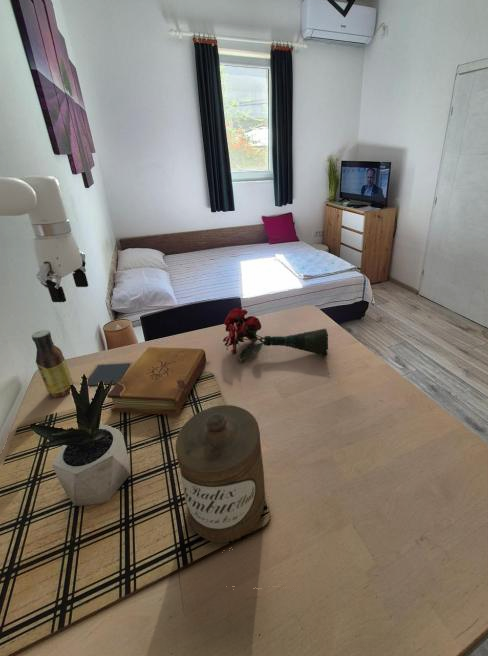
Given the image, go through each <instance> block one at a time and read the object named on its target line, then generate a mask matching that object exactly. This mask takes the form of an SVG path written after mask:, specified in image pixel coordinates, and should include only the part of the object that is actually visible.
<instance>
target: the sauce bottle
mask: <svg viewBox="0 0 488 656" xmlns="http://www.w3.org/2000/svg"><path fill="white" fill-rule="evenodd" d="M31 339H32V341H33V342H34V345H35V349H36V356H35V364H36V367H37V368H38V372H39V374H40V376H41V379H42V382H43V384H44V386H45V389H46V391H47V393H48V394H49V396H51V397H52V398H57V397H62V396H65V395H67V394H68V393H70V392H71V391H70V385H73V386H74V384H73V379H72V376H71V373H70V371H69V367H68V365H67V362H66V359H65V356H64V354H63V352H62V350H61V348H60V347H58V346H56V345H55V343H54V341H53V339H52V334H51V331H50V330H49V329H39V330H38V331H35V332H34V333H32V334H31Z"/></svg>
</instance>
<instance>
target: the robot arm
mask: <svg viewBox="0 0 488 656" xmlns="http://www.w3.org/2000/svg"><path fill="white" fill-rule="evenodd" d="M25 215H28V218H29V221H30V224H31V228H32V231H33V234H34V237H35V238H33V246H34V253H35V258H36V262H37V266H38V270H39V271H38V272H37V274H36V275H35V277H36V279H37V280H38V281H39V282H40V284H41V285H42V286H44V288H45V289H47V290H48V293H49V296H50V299H51V302H52V303H65V302H67V297H66V295H65V291H64V288H63V286H61V281H62V278H64V277H66V276H68V275H69V274H72V277H73V282H74V285H75V287H76V288H88V287H89V282H88V278H87V275H86V272H87V269H86V268H85V267H86V265H87V264H86V253H83V252H81V251H80V249H79V246H78V243H77V241H76V238H75V236H74V233H73V230H72V227H71V223H70V220H69V216H68V212H67V208H66V205H65V201H64V197H63V194H62V190H61V187H60V183H59V181H58V179H57V178H56V177H55V176H53V175H49V174H37V175H25V176H21V177H12V176H11V177H9V176H0V216H1V217H7V216H8V217H16V216H19V217H20V216H25ZM54 279H55V280H54Z"/></svg>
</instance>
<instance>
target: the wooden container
mask: <svg viewBox="0 0 488 656" xmlns="http://www.w3.org/2000/svg"><path fill="white" fill-rule="evenodd" d="M262 453H263V452H262V445H261V431H260V426H259V423H258V421H257V419H256V417H255V416H254V415H253V414H252V413H251V412H250V411H249V410H247V409H246V408H243V407H240V406H238V405H233V404H232V405H231V404H222V405H221V404H220V405H216V406H215V405H214V406H210V407H208V408H206V409H203V410H201V411H199V412H197V413H196V414H195V415H193V416H191V417H190V418H189V419H188V420H187V421H186V422H185V423H184V424H183V425H182V427H181V428H180V430H179V431H178V433H177V436H176V439H175V454H176V455H175V456H176V459H177V464H178V467H179V471H180V476H181V483H182V488H183V495H184V500H185V504H186V508H187V513H188V517H189V521H190V524H191V526H192V529H193V530H194V532H195V533H196V534H198V535H199V536H200V537H201V538H202V539H204V540H206V541H209V542H211V543H220V544H221V543H228V542H232V541H235V540H238V539H240V538H241V537H243V536H244V535H246V534H247V533H249V532H250V531H251V530H252V529H253V528H254V527H255V526H256V524H258V522H259V520H260V518H261V516H262V515H263V512H264V508H265V503H266V489H265V471H264V462H263V454H262Z"/></svg>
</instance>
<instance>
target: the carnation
mask: <svg viewBox="0 0 488 656" xmlns="http://www.w3.org/2000/svg"><path fill="white" fill-rule="evenodd" d="M247 314H248V310H247V309H240V308H238V307H237V308H234V309H233V310H231V311H229V313H228V314H227V316H226V318H225V319H224V326H225V332H226V333H227V332H228V334H227V335H226V336H225V337H224V338H223V340H222V343H224V347H226V349H225V350H226V351H227V350H229V349H228V348H229V347H230V346H232V349H231V350H230V353H231V355H233V356H235V355H237V354H238V351H237V346H238V345H240V343H244V342H245V341H250V342H251V343H250V344H249V345H248V346H246V347H245V348H244V349H243V350H241V353H240V355H239V361H240V363H242V361H244V360H245V359H246V358H247V357H248V355H249V354H250V352H251V349H252V347H254V348H253V350H252V353H253V354H257V353H259V352H260V350H261V349H262V347H263V346H265V347H266V346H268V347H270V346H273V347H274V346H275V347H279V346H280V347H281V346H282V347H289V348H292V349H295V350H300V351H304V352H309V353H312V354H316V355H320V356H325V357H326V356H328V350H329V333H328V330H327V328H322V329H316V330H311V331H305V332H301V333H299V332H298V333H296V334H290V335H285V336H279V335H278V336H276V335H275V336H273V335H272V336H271V335H264V337H263V336H260V335H258V334H257V333H258V331H260V330H261V329H262V323H261V321H260V319H259V318H258V317H256V316H255V315H250V316H247V317H245V316H246V315H247ZM258 341H259V342H260V343H257V344H255V342H258Z"/></svg>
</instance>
